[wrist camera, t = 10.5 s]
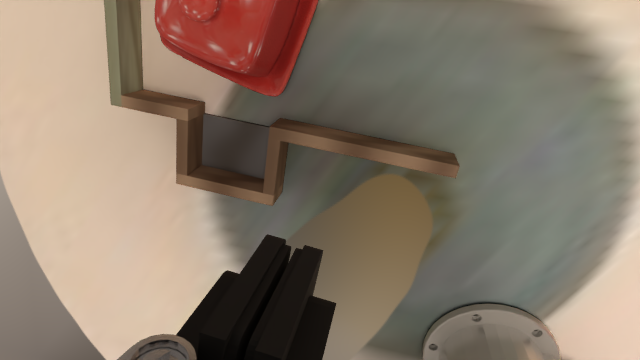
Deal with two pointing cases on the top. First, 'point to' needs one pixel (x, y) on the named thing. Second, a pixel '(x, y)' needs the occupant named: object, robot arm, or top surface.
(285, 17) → the butter dish
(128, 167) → the top surface
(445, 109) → the top surface
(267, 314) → the robot arm
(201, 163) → the trap lane
